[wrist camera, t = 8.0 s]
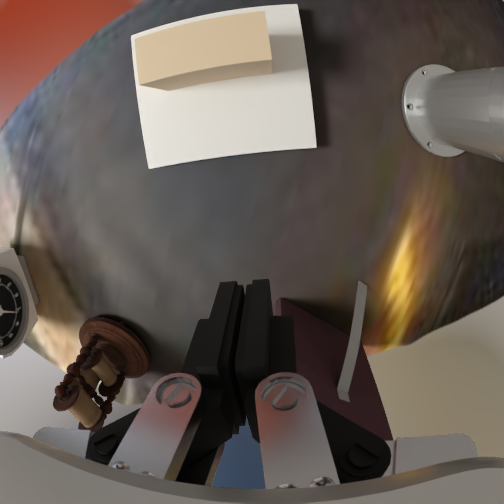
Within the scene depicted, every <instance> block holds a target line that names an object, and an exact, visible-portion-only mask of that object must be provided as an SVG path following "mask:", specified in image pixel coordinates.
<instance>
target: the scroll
mask: <svg viewBox="0 0 504 504" xmlns="http://www.w3.org/2000/svg"><path fill="white" fill-rule="evenodd" d="M79 338H80V342H81V345H82V348H81V350H80V355H78V356H77V359H76V362H74V363H73V364H70V365H69V366H68V367H67V373H68V374H66V375H65V376H64V380H63V382H60V385H59V386H56V388H55V394H56V396H55V398H54V401H53V406H54V408H55V409H56V410H57V411H65V410H67V409H68V410H69V411H70V412H71V413H72V414H73V415H74V416H75V417H76V418H77V419H78V420H79V421H80V422H79V427H78V429H79V430H91V432H92V433H95V432H96V431H97V430H99V429H101V428H102V426H103V424H104V420H105V419H106V417H107V415H106V414H110V413H111V412H112V403H111V402H112V401H113V400H114V399H115V398H116V397H115V395H117V394H118V393H119V392H120V388H121V387H122V385H123V381H124V380H125V378H138V377H140V376H142V375H144V374H145V373H146V371H147V369H148V367H149V364H150V357H149V353H148V351H147V349H146V347H145V345H144V344H143V342H142V341H141V340H140V339H139V338H138V337H137V336H136V335H135V334H134V333H133V332H132V331H131V330H129V329H128V328H127V327H125V326H124V321H120V322H119V323H118V322H116V321H114V320H111V319H107V318H102V317H94V318H90V319H88V320H87V321H86V322H85V323H84V324H83V325H82V327H81V328H80V332H79ZM100 380H101V381H102V382H101V383H100V385H99V388H98V391H99V394H101V395H102V396H105V397H107V400H105V401H103V399H102V398H101V397H100V396H98V395H97V392H96V391H95V389H96V387H97V385H98V383H99V381H100ZM93 397H94V399H95V402H96V403H97V404H98V405H100V408H99V406H98V405H97V404H96V403H95V402H94V401H93V400H92V398H93Z"/></svg>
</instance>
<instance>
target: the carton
mask: <svg viewBox="0 0 504 504" xmlns="http://www.w3.org/2000/svg"><path fill="white" fill-rule="evenodd" d="M135 52H136V62H137V72H138V81H139V85H141V86H146V87H151V88H156V89H161V90H165V91H171V90H175V89H179V88H184V87H188V86H193V85H198V84H203V83H209V82H215V81H221V80H227V79H234V78H241V77H249V76H257V75H267V74H272V55H271V48H270V41H269V35H268V28H267V22H266V15H265V11H259V12H250V13H242V14H234V15H228V16H222V17H216V18H211V19H206V20H201V21H196V22H192V23H188V24H183V25H179V26H175V27H172V28H168V29H164V30H161V31H158V32H154V33H151V34H148V35H145V36H142V37H139V38H136V39H135Z"/></svg>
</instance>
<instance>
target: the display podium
mask: <svg viewBox="0 0 504 504" xmlns="http://www.w3.org/2000/svg"><path fill="white" fill-rule="evenodd" d="M259 11H265V15H266V22H267V28H268V35H269V41H270V48H271V55H272V74H267V75H257V76H249V77H241V78H234V79H227V80H221V81H215V82H209V83H203V84H198V85H193V86H188V87H184V88H179V89H175V90H171V91H165V90H161V89H156V88H151V87H146V86H141V85H139V81H138V72H137V62H136V52H135V39H136V38H139V37H142V36H145V35H148V34H151V33H154V32H158V31H161V30H164V29H168V28H172V27H175V26H179V25H183V24H188V23H192V22H196V21H201V20H206V19H211V18H216V17H222V16H228V15H234V14H242V13H250V12H259ZM131 42H132V54H133V64H134V74H135V83H136V91H137V99H138V106H139V113H140V120H141V126H142V132H143V139H144V145H145V150H146V156H147V161H148V167H149V169H151V168H157V167H162V166H167V165H173V164H178V163H184V162H190V161H196V160H203V159H210V158H217V157H224V156H232V155H240V154H248V153H257V152H267V151H278V150H290V149H304V148H317V146H316V134H315V124H314V114H313V105H312V96H311V88H310V80H309V73H308V65H307V59H306V52H305V45H304V39H303V33H302V27H301V22H300V16H299V11H298V5H297V4H288V5H272V6H261V7H251V8H243V9H236V10H230V11H223V12H218V13H212V14H207V15H202V16H198V17H193V18H189V19H185V20H181V21H177V22H173V23H169V24H166V25H162V26H159V27H156V28H153V29H149V30H146V31H143V32H140V33H137V34H134V35H132V36H131Z"/></svg>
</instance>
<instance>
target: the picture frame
mask: <svg viewBox="0 0 504 504" xmlns="http://www.w3.org/2000/svg"><path fill="white" fill-rule="evenodd" d="M366 294H367V286H366V285H365V284H363V283H362V282H360V281H359V280H358V288H357V295H356V302H355V309H354V315H353V322H352V328H351V334H350V335H348V334H347V333H345V332H343V331H341V330H339V329H337V328H335V327H333V326H332V325H330V324H328V323H326V322H324V321H322V320H320V319H319V318H317V317H315V316H313V315H311V314H309V313H308V312H306V311H304V310H302V309H300V308H298V307H297V306H295V305H293V304H291V303H289V302H288V301H286V300H284V299H282V298H280V299H279V300H278V301H277V302H276V314H277V316H281V315H293V321H294V336H295V351H296V367H297V374H298V375H301V376H303V377H304V378H305V379H306V380H308V381H309V383H310V385H311V386H312V389H313V392H314V396H315V399H316V400H318V401H319V402H321V403H322V404H324V405H326V406H327V407H329V408H330V409H332V410H334V411H335V412H337V413H339V414H340V415H342V416H344V417H345V418H347V419H349V420H351V421H352V422H354V423H356V424H358V425H359V426H361V427H363V428H365V429H366V430H368V431H370V432H372V433H374V434H375V435H377V436H379V437H380V438H382V439H383V440H384V441H393V437H392V434H391V430H390V427H389V424H388V420H387V417H386V414H385V410H384V407H383V404H382V401H381V398H380V395H379V392H378V389H377V386H376V383H375V380H374V377H373V374H372V371H371V368H370V365H369V362H368V360H367V356H366V354H365V351H364V348H363V345H362V343H361V341H360V338H361V332H362V325H363V318H364V310H365V302H366Z"/></svg>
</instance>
